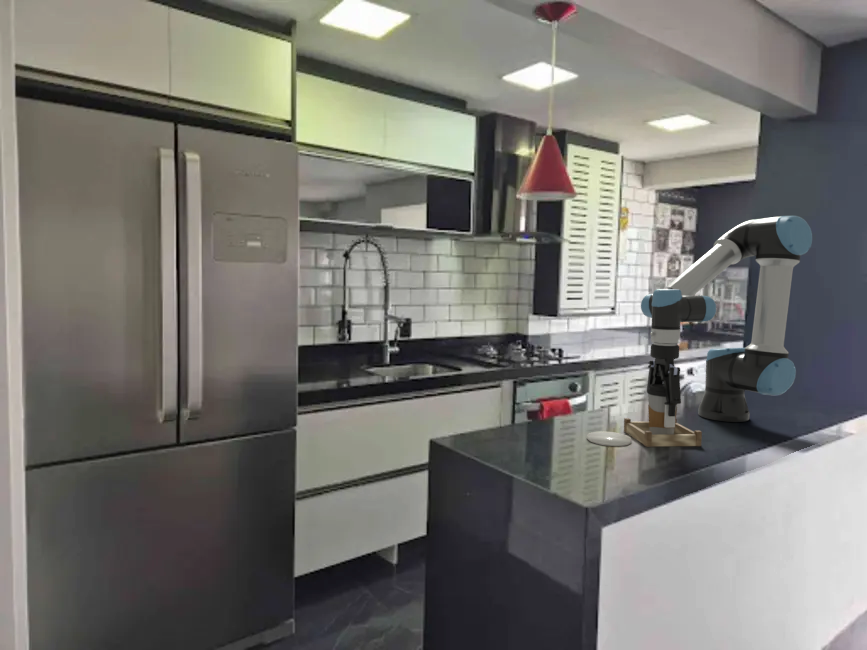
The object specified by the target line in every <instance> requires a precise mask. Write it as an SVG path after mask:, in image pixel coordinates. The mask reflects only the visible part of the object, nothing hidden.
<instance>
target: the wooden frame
mask: <svg viewBox="0 0 867 650" xmlns="http://www.w3.org/2000/svg"><path fill="white" fill-rule="evenodd" d="M631 420H632V419H631V418H628V417H627V418H626V417H624V418H623V432H624V433H626V434H627V435H628V436H629V437H631V438H633V439H635V440H637V441H638V442H639V443H640V444H642V445H644V446H645V447H646V448H651V447H702V438H703V437H702V434H703V432H702V431H701V430H699V429H698V430H694V431H693V430H692V429H690V428H688V427H686V426H684V425H682V424H680V423H678V422H677V420H678V419H677V418H676V423H675V429H674V434H662V435H652V432H651V431H649V421H631Z"/></svg>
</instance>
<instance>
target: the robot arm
mask: <svg viewBox="0 0 867 650" xmlns="http://www.w3.org/2000/svg"><path fill="white" fill-rule="evenodd" d="M812 243H813V232H812V229H811V227H810V225H809V223H808V222H807V220H805V219H804V218H803V217H801V216H798V215H780V216H773V217H764V218H754V219H749V220H745V221H744V222H741V223H740V224H737V225H736V226H734V227H733V228H731V229H730V230H728V231H727V232H725V233H724V234H723V235H722V236H720V237H719V238H718V239H717V240H715V241H714V243H713V247H712V248H711V249H710V250H708V251H707V252H706V253H704V255H702V256H701V257H700V258H699V259H698V260H696V261H695V262H694V263H693V264H691V265H690V266H689V267H687V268H686V269H685V271H683V272H682V273H680V274H679V275H678V276H677V277H676V278H675V279H674V280H672V281H671V282H670V283H669V284H667V285H666V286H665V287H663V288H657V289H655V290H654V291H653V292H652V293H649V294H647V295H645V296H644V297H643V298H642V300H641V302H640V309H641V313H642V314H643V315H644V316H645V317H647V318H651V327H650V328H651V329H650V330H651V332H649V335H650V342H651V344H650V351H649V352H650V354H649V355H650V357H651V358H653V359H654V360H649V362H648V363H649V364H648V366H649V371H648V379H647V387H646V393H647V392H648V388H649V387H650V384H664V388H665V393H666V400H667V402H665V403H664V404H665V417H664V427H665V428H671V427H675V412H676V405H677V406H678V405H679V404H681V403H682V400H681V399H682V398H681V379H680V378H681V377H680V376H681V375H680V374H681V368H680V367H679V366H677V367H676V366H675V360H676V359H677V360H678V359H679V358H680V346H679V345H678V344H680V343H681V342H680V341H681V323H704V322H709V321H711V320H713V318H714V317H715V315H716V313H717V304H716V302H715V300H714V299H713V298H712V297H710V296H708V295H702V294H699V295H696V294H697V293H698V292H700V291H701V290H702V289H703V288H705V287H706V286H707V285H708V284H709V283H711V281H713V280H714V279H715V278H716V277H717V276H719V275H720V274H721V273H722V272H724V271H725V270H726V269H727V268H728V267H729V266H731V265H735V264H738V263H739V262H741V260H744V259H746V258H749V257H750V258H751V257H755V262H756V263H757V264H759V267H760V268H759V274H758V282H757V283H758V284H757V291H756V292H757V293H756V300H755V302H756V303H755V309H754V318H753V325H752V334H751V342H750V344H749V345H746V347H724V348H723V347H721V348H711V349H709V350H708V351H707V353H706V359H705V388H704V389H705V390H704V394H703V396H702V399H701V401H700V404H699V405H698V411H697V412H698V416H700V417H701V418H705V419H708V420H713V421H719V422H728V423H740V422H741V423H743V422H747V421H749V420H750V409H749V407H748V406H749V405H748V403H747V400H746V396H745V392H746V391H749V392H753V393H758V394H760V395H764V396H765V395H766V396H781V395H783V394H784V393H786V392H787V391H788V390H789V389H790V388H791V387H792V385H793V384H794V382H795V379H796V375H797V370H796V366H795V364H794V361H793V360H791V359H789V351H788V350H787V349H786V348H785V346H784V345H785V338H786V329H787V320H788V313H789V303H790V296H791V287H792V279H793V270H794V268H795V266H797V265H799V263H800V262H801V256H802V255H805V254H806V253H808V251H809V250H810V249H811V248H812Z"/></svg>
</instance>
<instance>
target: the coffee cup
mask: <svg viewBox="0 0 867 650" xmlns="http://www.w3.org/2000/svg"><path fill="white" fill-rule="evenodd" d="M646 393H647V397H648V399H647V400H648V401H647V402H648V407H647V408H648V422H649V431H651V432H652V435H662V434H674V429H675V427H671V428H665V427H664V417H665V404H664V403H665V402H667V400H666V393H665V388H664V383H662V384H650V387H649V388H648V392H647V391H646ZM677 412H678V404H677V405H676V412H675V423H676V419H677Z"/></svg>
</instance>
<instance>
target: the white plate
mask: <svg viewBox="0 0 867 650" xmlns="http://www.w3.org/2000/svg"><path fill="white" fill-rule="evenodd" d="M586 439H587V440H588V442H589V443H590V442H591V443H593V444H596V445H601V446H607V447H625V446H629V445H631V444H632V442H633V441H632V436H630V435H628V434H627V435H626V434H623V433H621V432H615V431H603V430H602V431H600V430H599V431H592V432H588V433H587V435H586Z"/></svg>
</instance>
